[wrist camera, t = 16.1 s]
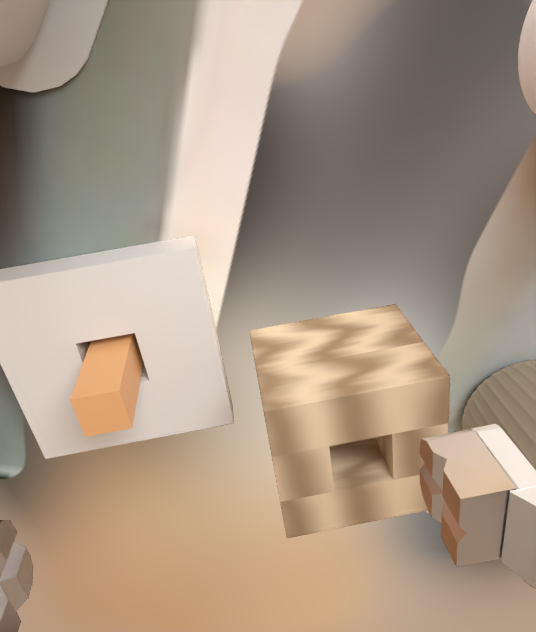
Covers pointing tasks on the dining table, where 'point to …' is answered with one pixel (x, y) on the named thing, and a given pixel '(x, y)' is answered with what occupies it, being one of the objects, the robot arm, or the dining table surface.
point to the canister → (507, 406)
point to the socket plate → (109, 321)
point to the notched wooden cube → (348, 416)
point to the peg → (108, 385)
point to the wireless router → (46, 41)
